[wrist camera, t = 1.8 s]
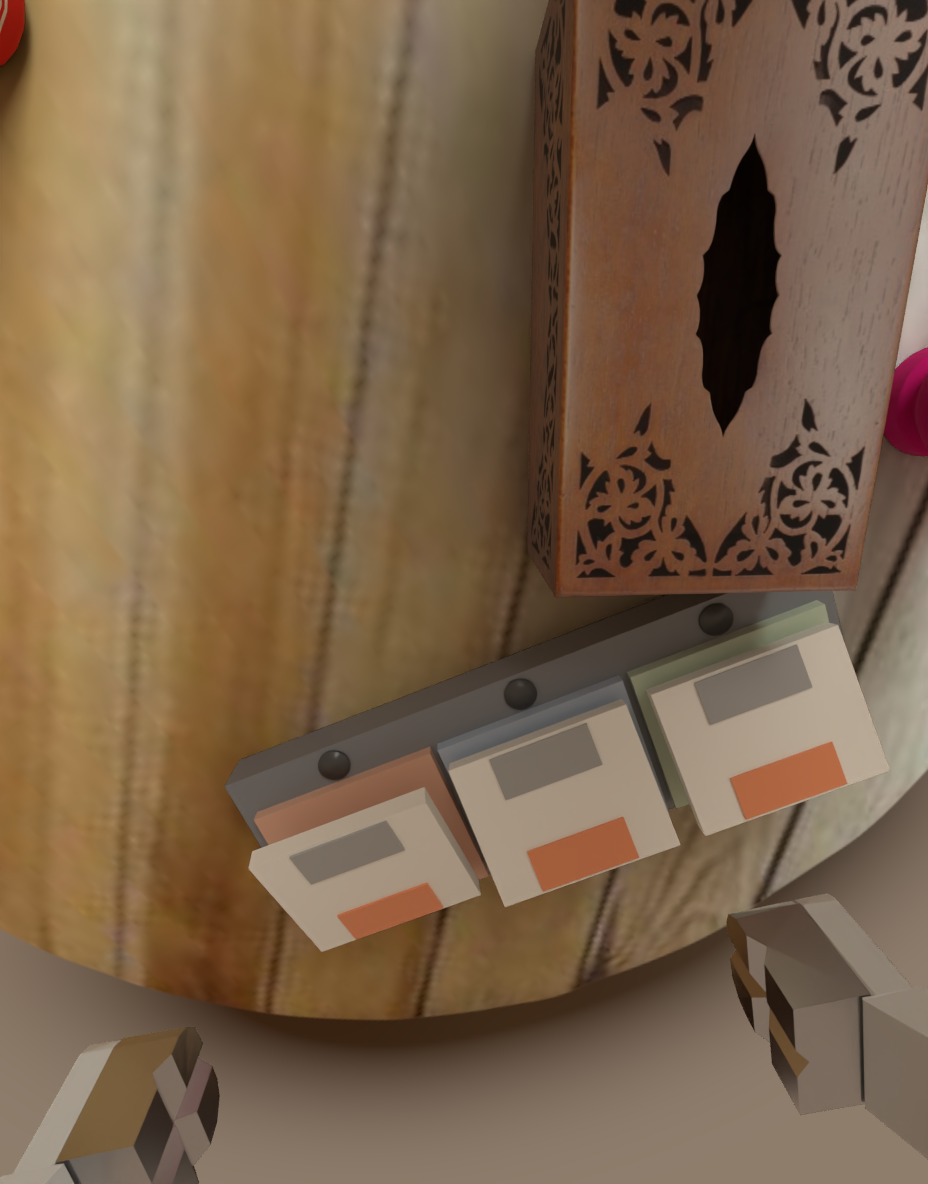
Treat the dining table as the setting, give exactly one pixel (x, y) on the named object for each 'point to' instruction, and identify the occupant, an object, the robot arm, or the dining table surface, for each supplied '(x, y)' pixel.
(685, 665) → the gray rocker switch panel
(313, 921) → the cream patched switch plate
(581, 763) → the cream rectangular plate
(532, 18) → the dining table surface
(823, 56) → the tissue box cover
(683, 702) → the cream two-patch switch cover
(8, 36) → the beer can
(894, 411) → the pepper mill
